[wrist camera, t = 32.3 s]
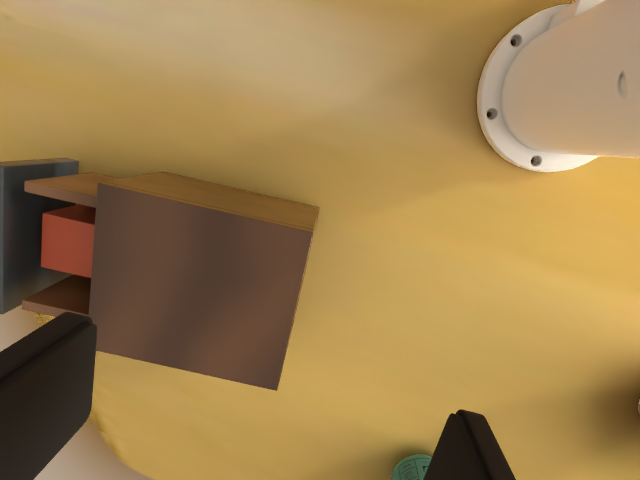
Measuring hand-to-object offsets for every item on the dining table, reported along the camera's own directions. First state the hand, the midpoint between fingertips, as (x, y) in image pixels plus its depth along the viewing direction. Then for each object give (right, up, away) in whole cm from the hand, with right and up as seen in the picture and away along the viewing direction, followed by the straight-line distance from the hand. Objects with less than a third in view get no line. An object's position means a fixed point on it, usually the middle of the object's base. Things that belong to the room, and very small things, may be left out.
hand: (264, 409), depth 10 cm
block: (-18, +5, +24) cm, 30 cm away
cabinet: (-7, +3, +26) cm, 27 cm away
